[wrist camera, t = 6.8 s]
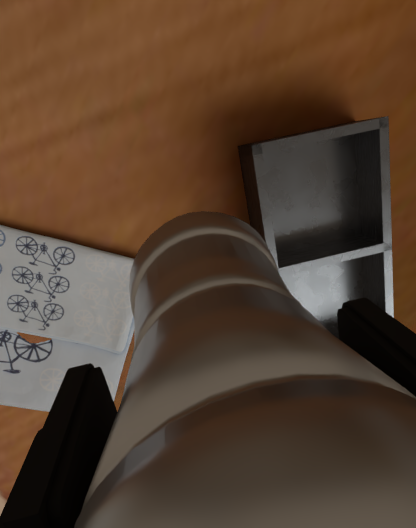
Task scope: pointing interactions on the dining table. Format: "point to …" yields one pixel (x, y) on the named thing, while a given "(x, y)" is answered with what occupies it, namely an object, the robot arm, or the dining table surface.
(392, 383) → the grey stacked bottle
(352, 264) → the divided tray
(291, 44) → the dining table surface
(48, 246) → the folded bicycle print cloth
